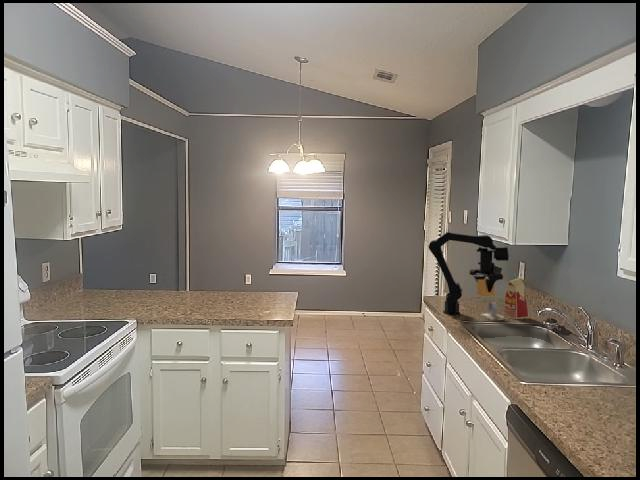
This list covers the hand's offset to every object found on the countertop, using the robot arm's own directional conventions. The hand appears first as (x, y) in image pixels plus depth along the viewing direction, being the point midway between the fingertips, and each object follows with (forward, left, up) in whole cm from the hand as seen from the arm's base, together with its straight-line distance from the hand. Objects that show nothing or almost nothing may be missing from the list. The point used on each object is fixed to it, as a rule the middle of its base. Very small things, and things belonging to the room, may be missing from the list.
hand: (485, 291), depth 239 cm
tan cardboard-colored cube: (0, 0, -2) cm, 2 cm away
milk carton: (+12, -8, -12) cm, 19 cm away
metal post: (0, -6, -11) cm, 13 cm away
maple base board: (0, -6, -12) cm, 14 cm away
